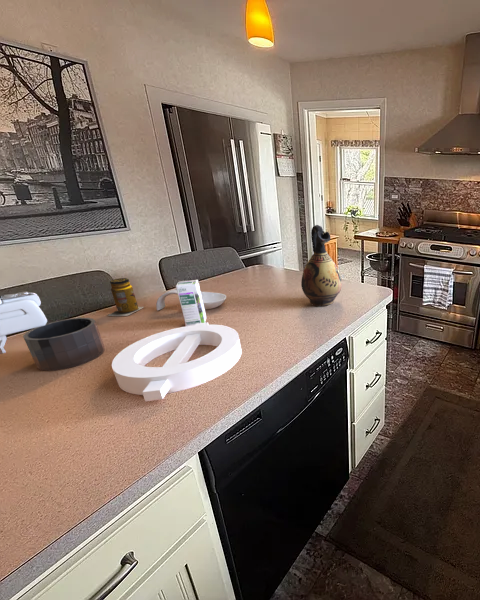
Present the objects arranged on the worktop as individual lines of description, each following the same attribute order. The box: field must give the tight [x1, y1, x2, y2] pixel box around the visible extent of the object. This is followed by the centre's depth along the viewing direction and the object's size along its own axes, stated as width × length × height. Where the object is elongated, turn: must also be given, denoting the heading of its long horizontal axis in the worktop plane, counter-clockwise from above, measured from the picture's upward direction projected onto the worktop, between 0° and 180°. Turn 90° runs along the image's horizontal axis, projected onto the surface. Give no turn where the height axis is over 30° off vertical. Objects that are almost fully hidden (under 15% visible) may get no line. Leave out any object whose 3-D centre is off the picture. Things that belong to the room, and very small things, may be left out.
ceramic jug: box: [300, 224, 343, 307], centre depth 125 cm, size 17×15×30 cm
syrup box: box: [175, 279, 207, 326], centre depth 109 cm, size 6×6×14 cm
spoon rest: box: [155, 288, 227, 311], centre depth 122 cm, size 24×12×7 cm, turn 100°
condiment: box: [107, 277, 145, 317], centre depth 118 cm, size 7×8×12 cm
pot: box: [22, 317, 106, 372], centre depth 88 cm, size 14×14×9 cm
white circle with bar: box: [111, 321, 243, 402], centre depth 87 cm, size 28×28×5 cm
